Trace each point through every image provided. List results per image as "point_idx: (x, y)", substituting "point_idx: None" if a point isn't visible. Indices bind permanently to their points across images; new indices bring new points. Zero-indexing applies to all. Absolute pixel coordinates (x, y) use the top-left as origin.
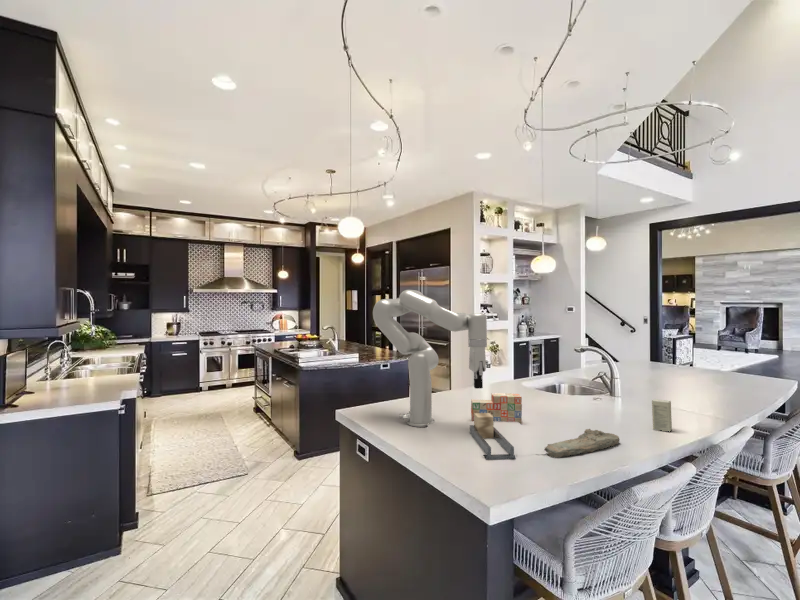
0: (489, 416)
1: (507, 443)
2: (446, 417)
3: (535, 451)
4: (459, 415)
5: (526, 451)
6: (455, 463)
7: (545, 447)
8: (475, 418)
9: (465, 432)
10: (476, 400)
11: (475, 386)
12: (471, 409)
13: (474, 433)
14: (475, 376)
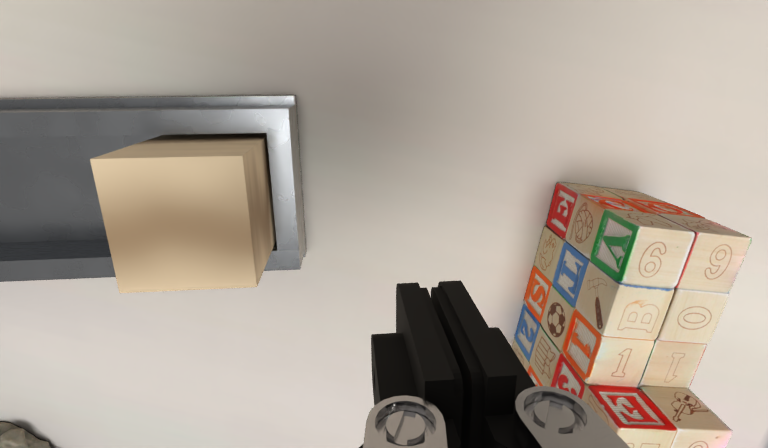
0: (134, 265)
1: None
2: (731, 20)
3: (38, 387)
4: (749, 131)
5: (29, 348)
6: None
7: (4, 443)
8: (201, 151)
9: (360, 88)
10: (701, 274)
11: (400, 302)
12: (672, 210)
13: (135, 109)
14: (430, 439)
